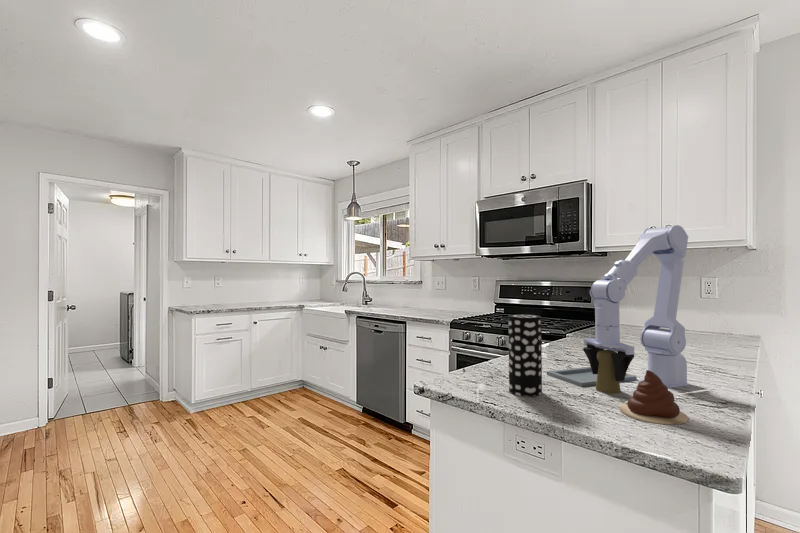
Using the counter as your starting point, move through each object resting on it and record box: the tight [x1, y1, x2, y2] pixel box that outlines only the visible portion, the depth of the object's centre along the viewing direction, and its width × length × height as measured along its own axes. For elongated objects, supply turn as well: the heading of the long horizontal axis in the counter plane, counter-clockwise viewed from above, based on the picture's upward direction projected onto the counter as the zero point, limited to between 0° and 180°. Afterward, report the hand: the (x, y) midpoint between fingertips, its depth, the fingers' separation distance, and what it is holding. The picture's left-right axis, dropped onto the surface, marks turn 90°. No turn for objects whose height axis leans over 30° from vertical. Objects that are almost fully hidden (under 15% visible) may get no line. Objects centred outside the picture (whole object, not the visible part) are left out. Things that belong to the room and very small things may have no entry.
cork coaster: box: [619, 403, 689, 426], centre depth 92 cm, size 13×13×1 cm
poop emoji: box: [626, 369, 681, 418], centre depth 92 cm, size 10×8×9 cm
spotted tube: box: [508, 314, 543, 397], centre depth 109 cm, size 8×8×20 cm
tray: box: [546, 366, 638, 388], centre depth 122 cm, size 20×14×2 cm
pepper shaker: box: [595, 349, 621, 395], centre depth 108 cm, size 6×6×11 cm
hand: (607, 377), depth 108 cm, fingers open, 7 cm apart
